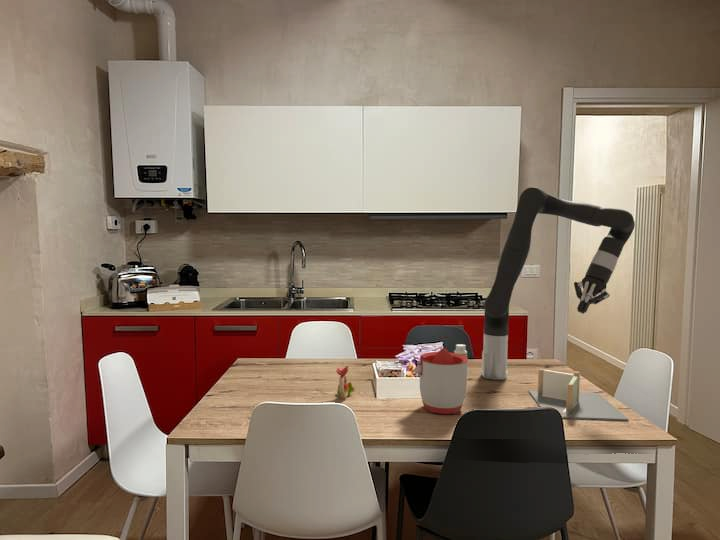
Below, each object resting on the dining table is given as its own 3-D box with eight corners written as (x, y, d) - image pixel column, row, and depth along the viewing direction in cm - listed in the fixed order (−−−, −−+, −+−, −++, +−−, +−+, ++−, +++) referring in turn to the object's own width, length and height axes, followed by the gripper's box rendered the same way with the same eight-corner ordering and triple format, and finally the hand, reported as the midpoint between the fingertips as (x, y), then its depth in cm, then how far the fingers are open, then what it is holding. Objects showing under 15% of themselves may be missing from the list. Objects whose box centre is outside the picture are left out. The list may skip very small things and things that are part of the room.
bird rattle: (353, 405, 177) (355, 387, 185) (351, 380, 172) (354, 363, 180) (335, 405, 178) (337, 387, 186) (333, 380, 173) (336, 362, 180)
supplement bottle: (467, 366, 220) (468, 344, 219) (466, 370, 214) (466, 347, 214) (454, 365, 221) (455, 343, 220) (452, 368, 216) (453, 346, 215)
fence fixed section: (579, 401, 176) (580, 372, 175) (577, 402, 174) (579, 373, 173) (538, 393, 183) (539, 365, 182) (536, 395, 182) (538, 366, 181)
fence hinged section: (571, 401, 175) (572, 375, 174) (578, 402, 174) (579, 376, 173) (565, 411, 165) (566, 384, 164) (572, 412, 164) (573, 385, 163)
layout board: (548, 418, 162) (548, 415, 161) (528, 392, 186) (528, 390, 186) (628, 421, 160) (628, 418, 160) (598, 394, 184) (598, 392, 184)
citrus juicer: (411, 400, 177) (412, 342, 175) (462, 401, 177) (464, 343, 175) (414, 417, 162) (415, 353, 160) (470, 418, 161) (472, 354, 159)
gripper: (579, 258, 181) (558, 303, 181) (615, 268, 171) (593, 316, 171) (589, 264, 186) (568, 309, 186) (624, 275, 175) (603, 322, 176)
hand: (580, 312), depth 179 cm, fingers closed
